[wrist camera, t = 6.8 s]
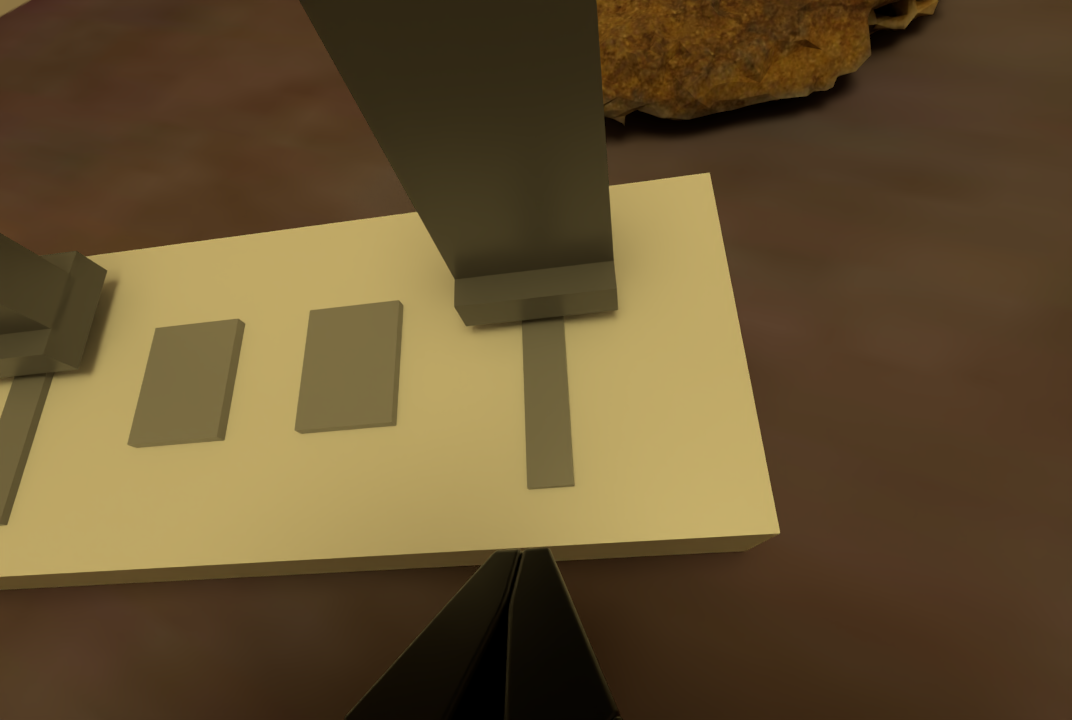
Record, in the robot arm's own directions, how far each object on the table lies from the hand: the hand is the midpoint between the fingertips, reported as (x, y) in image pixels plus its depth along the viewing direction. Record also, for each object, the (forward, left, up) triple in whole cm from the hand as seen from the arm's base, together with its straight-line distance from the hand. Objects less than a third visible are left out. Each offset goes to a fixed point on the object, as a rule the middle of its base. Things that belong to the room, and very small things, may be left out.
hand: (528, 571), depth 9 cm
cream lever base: (-2, +8, -7) cm, 11 cm away
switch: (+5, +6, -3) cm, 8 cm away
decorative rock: (+19, +11, -8) cm, 23 cm away
